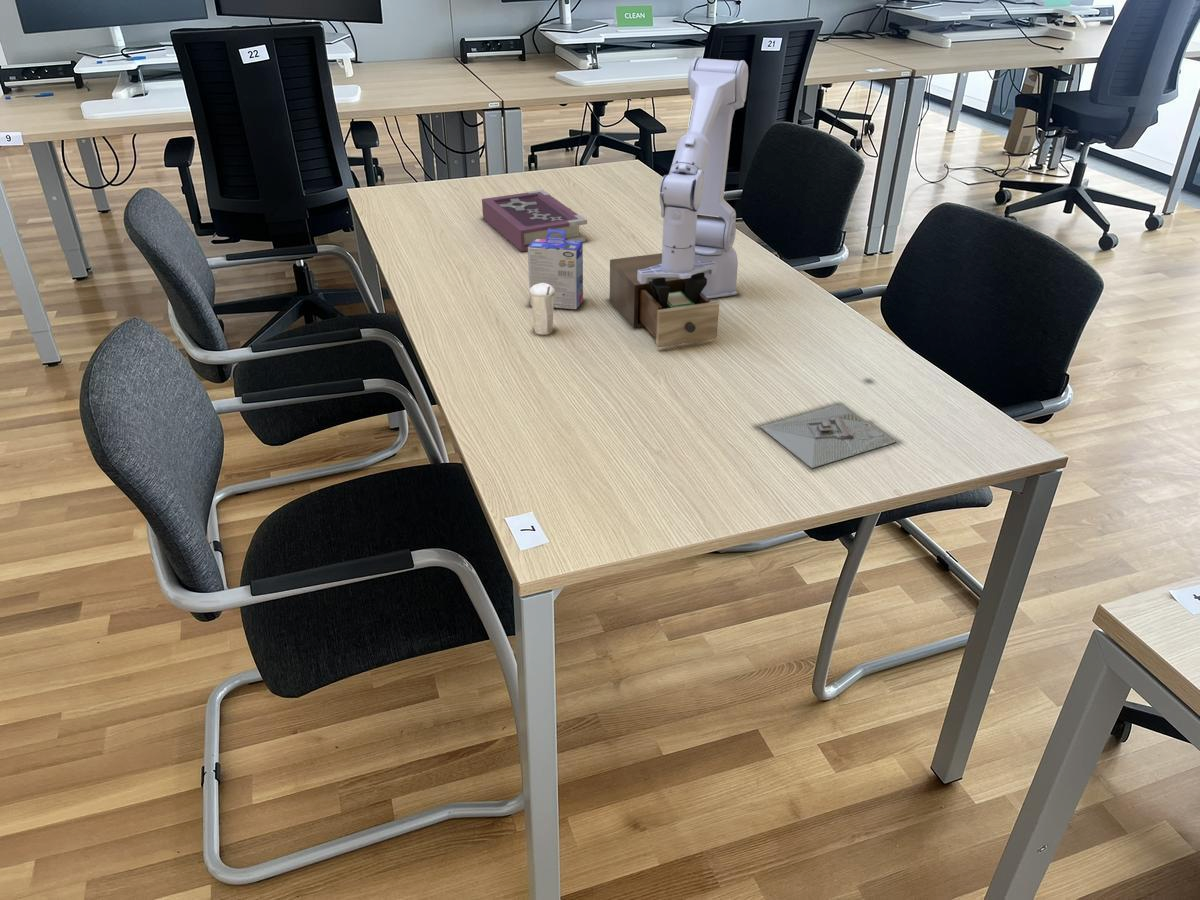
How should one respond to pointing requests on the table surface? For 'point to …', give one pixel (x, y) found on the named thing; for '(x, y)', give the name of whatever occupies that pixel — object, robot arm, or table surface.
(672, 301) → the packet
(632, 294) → the cabinet
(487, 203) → the book
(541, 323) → the milkshake
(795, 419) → the grey flat square slab
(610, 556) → the table surface
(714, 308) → the drawer
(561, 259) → the ink cartridge box
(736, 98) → the robot arm
